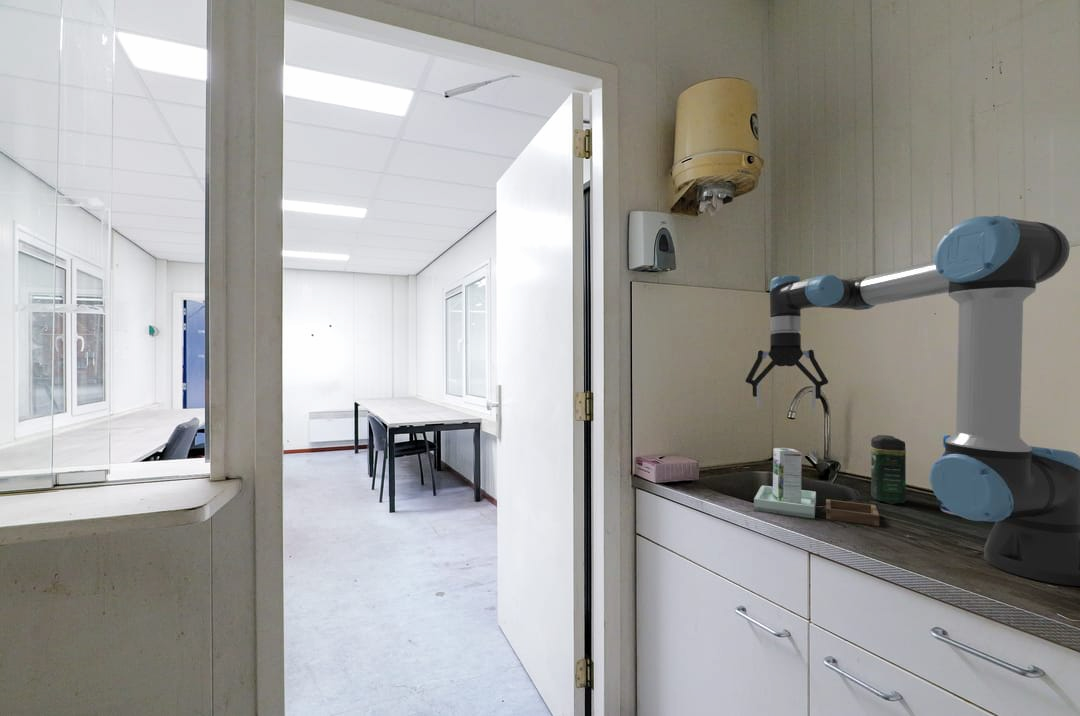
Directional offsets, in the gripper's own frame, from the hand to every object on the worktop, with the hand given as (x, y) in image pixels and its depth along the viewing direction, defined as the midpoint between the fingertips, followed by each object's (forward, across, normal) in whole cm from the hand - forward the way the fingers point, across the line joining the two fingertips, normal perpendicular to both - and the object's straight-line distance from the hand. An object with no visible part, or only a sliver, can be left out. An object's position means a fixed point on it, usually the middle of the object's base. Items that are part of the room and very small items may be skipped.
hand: (785, 409), depth 135 cm
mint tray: (+26, 0, 0) cm, 26 cm away
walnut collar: (+26, -15, +2) cm, 30 cm away
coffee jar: (+26, -25, -23) cm, 43 cm away
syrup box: (+26, 0, 0) cm, 26 cm away
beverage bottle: (+27, -40, -17) cm, 51 cm away
